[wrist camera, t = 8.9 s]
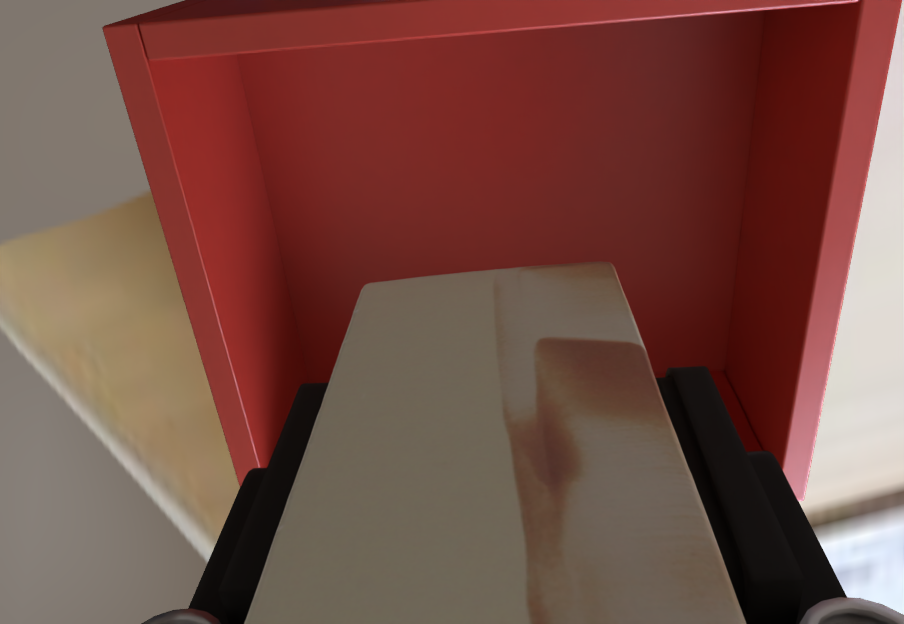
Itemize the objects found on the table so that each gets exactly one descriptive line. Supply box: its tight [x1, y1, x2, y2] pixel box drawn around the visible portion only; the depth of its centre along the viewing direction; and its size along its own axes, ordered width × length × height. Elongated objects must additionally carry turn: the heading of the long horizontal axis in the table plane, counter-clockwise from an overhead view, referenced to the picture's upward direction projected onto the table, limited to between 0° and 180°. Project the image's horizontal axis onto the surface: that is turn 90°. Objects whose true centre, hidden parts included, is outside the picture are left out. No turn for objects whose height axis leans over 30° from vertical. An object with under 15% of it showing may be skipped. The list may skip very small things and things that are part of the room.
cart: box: [103, 0, 902, 501], centre depth 17 cm, size 14×14×13 cm
